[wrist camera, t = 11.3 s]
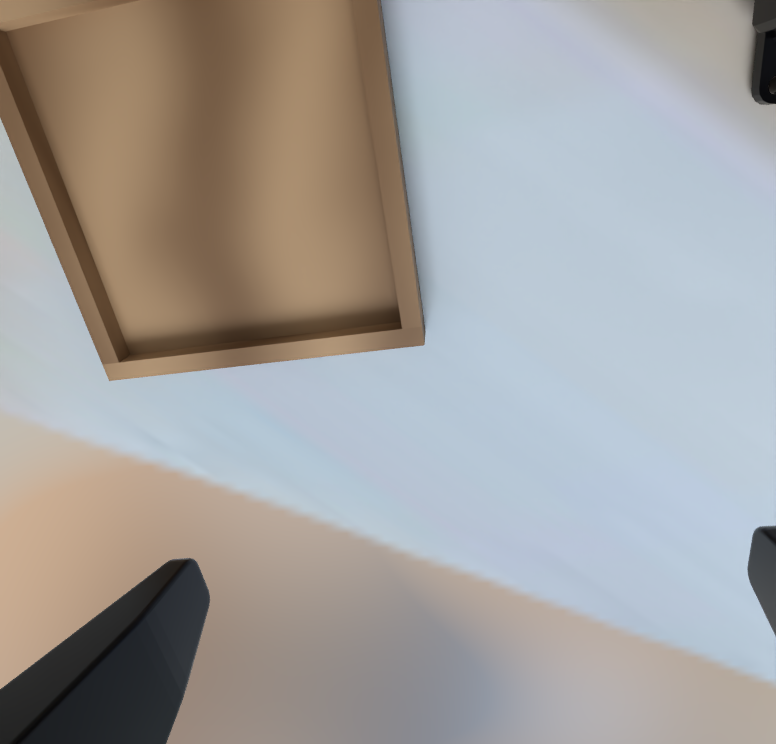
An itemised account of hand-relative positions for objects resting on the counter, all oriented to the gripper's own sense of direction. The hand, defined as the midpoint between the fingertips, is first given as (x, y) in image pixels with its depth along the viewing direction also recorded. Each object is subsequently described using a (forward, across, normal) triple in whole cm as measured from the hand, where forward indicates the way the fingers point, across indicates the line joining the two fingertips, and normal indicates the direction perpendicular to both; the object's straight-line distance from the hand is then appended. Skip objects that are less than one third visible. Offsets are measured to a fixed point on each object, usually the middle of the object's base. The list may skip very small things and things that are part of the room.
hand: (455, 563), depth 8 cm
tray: (+12, +7, -6) cm, 15 cm away
